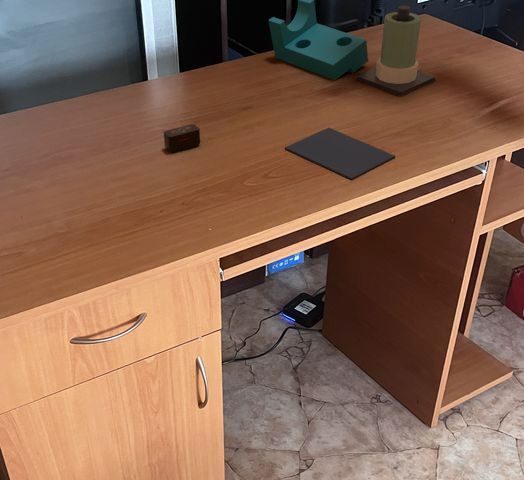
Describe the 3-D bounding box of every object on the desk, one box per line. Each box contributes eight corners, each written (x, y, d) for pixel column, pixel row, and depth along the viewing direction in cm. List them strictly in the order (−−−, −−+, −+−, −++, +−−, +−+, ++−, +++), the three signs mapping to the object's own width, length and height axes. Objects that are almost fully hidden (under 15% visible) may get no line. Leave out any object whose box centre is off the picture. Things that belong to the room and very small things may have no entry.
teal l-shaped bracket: (276, 63, 178) (268, 20, 170) (308, 39, 182) (302, -4, 174) (335, 86, 169) (330, 41, 161) (368, 60, 172) (364, 16, 164)
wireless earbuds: (205, 144, 144) (204, 128, 142) (170, 154, 141) (169, 137, 139) (193, 135, 147) (192, 118, 145) (159, 144, 144) (157, 127, 142)
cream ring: (423, 76, 167) (425, 62, 165) (399, 87, 162) (401, 72, 160) (392, 65, 171) (394, 51, 169) (368, 75, 167) (369, 61, 165)
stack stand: (435, 81, 168) (446, 7, 158) (400, 96, 161) (409, 21, 151) (390, 65, 174) (399, -6, 164) (355, 80, 168) (362, 7, 158)
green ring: (421, 62, 165) (428, 18, 159) (400, 71, 161) (406, 26, 155) (394, 53, 169) (399, 9, 163) (373, 61, 165) (377, 17, 159)
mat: (395, 157, 141) (395, 155, 141) (351, 180, 134) (351, 178, 134) (328, 129, 149) (328, 127, 149) (284, 149, 143) (284, 147, 143)
